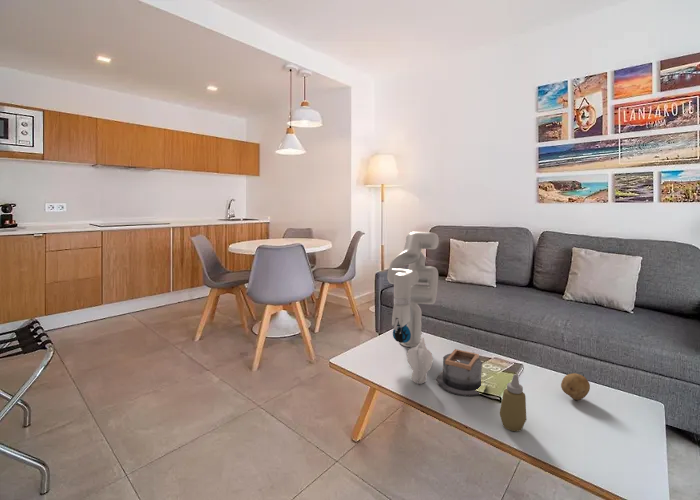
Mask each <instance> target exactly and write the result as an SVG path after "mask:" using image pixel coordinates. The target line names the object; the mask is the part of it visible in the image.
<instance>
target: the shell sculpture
mask: <svg viewBox="0 0 700 500" xmlns="http://www.w3.org/2000/svg"><path fill="white" fill-rule="evenodd" d="M424 338H425V337H421V340H420V341H421V344H420V343H419V344H418V345H417V346H416V347H414V348H412V347H410V348H409V349H408V350H407V354H406V358H407V364H408V365H409V367H410V368H411V370H412V373H411V376H410V377H411V378H410V379H411V381H412V382H414V383H415V384H417V385H421V384H424V383H425V382H427V374H428V371H430V370H431V368H432V366H433V360H434V358H433V354H432V352H431V351H430V350H429V349H428V348H427V345H426V342H425V339H424Z"/></svg>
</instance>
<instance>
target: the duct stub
mask: <svg viewBox="0 0 700 500" xmlns="http://www.w3.org/2000/svg"><path fill="white" fill-rule="evenodd" d="M479 358H480V354H479V353H475V352H470V351H466V350H460V349H457V348H454V350H453V351H452V352H451V353H448V354H445V355H444V356H443V357H442V372H441V373H439V374H438V376H437V385H438V386H439V387H440V389H442V390H443V391H445V392H448V393H449V394H453V395H456V396H460V397H477V396H480V394H479V392H477V391H475V390H476V389H478V388H479V387H480V386H481V378H482V369H483V362H482V361H481V359H479Z"/></svg>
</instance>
